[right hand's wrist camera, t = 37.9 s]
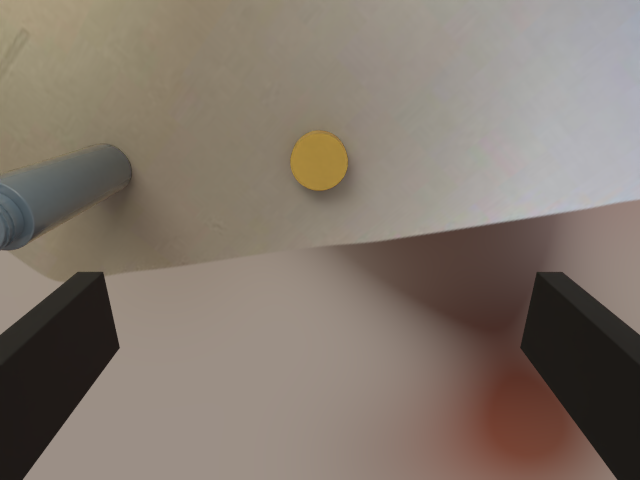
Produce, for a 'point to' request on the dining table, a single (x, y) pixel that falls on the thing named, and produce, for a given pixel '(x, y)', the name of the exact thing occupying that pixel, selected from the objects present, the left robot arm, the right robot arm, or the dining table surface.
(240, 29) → the dining table surface
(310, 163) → the lid
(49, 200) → the blue tall cylinder
